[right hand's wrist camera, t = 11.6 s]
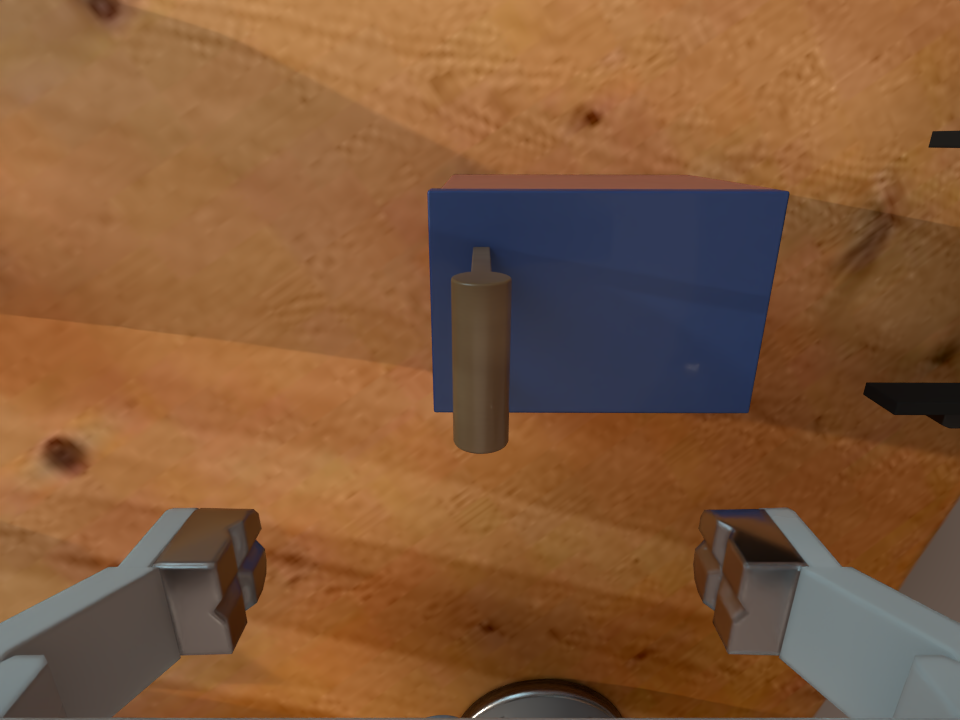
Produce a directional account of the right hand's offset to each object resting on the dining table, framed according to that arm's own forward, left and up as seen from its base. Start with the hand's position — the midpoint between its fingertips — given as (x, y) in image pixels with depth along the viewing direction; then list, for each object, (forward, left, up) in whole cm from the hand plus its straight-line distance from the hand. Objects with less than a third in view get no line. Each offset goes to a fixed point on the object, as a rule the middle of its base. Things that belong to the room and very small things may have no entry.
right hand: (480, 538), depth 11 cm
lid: (+2, +5, -16) cm, 17 cm away
